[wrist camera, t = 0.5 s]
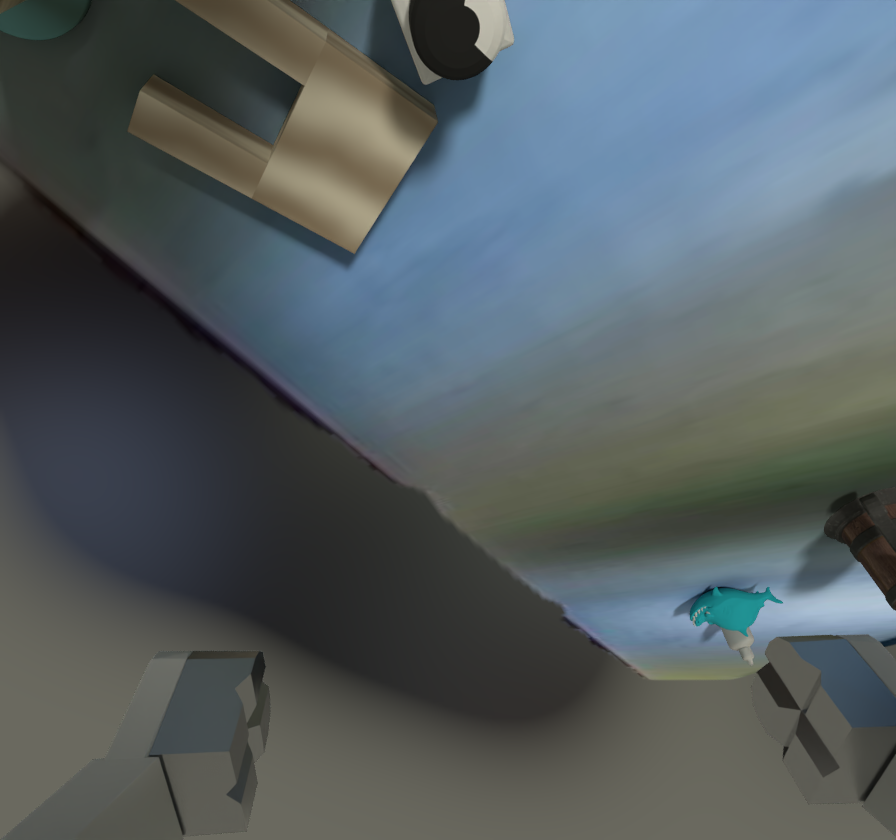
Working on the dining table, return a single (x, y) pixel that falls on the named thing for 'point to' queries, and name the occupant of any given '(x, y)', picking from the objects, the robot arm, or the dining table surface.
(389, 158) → the notched board
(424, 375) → the dining table surface
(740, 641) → the eye dropper bottle
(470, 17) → the medicine bottle
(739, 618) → the toy shark
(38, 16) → the bobbin
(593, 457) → the dining table surface
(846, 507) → the tankard
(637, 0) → the dining table surface
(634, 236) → the dining table surface
